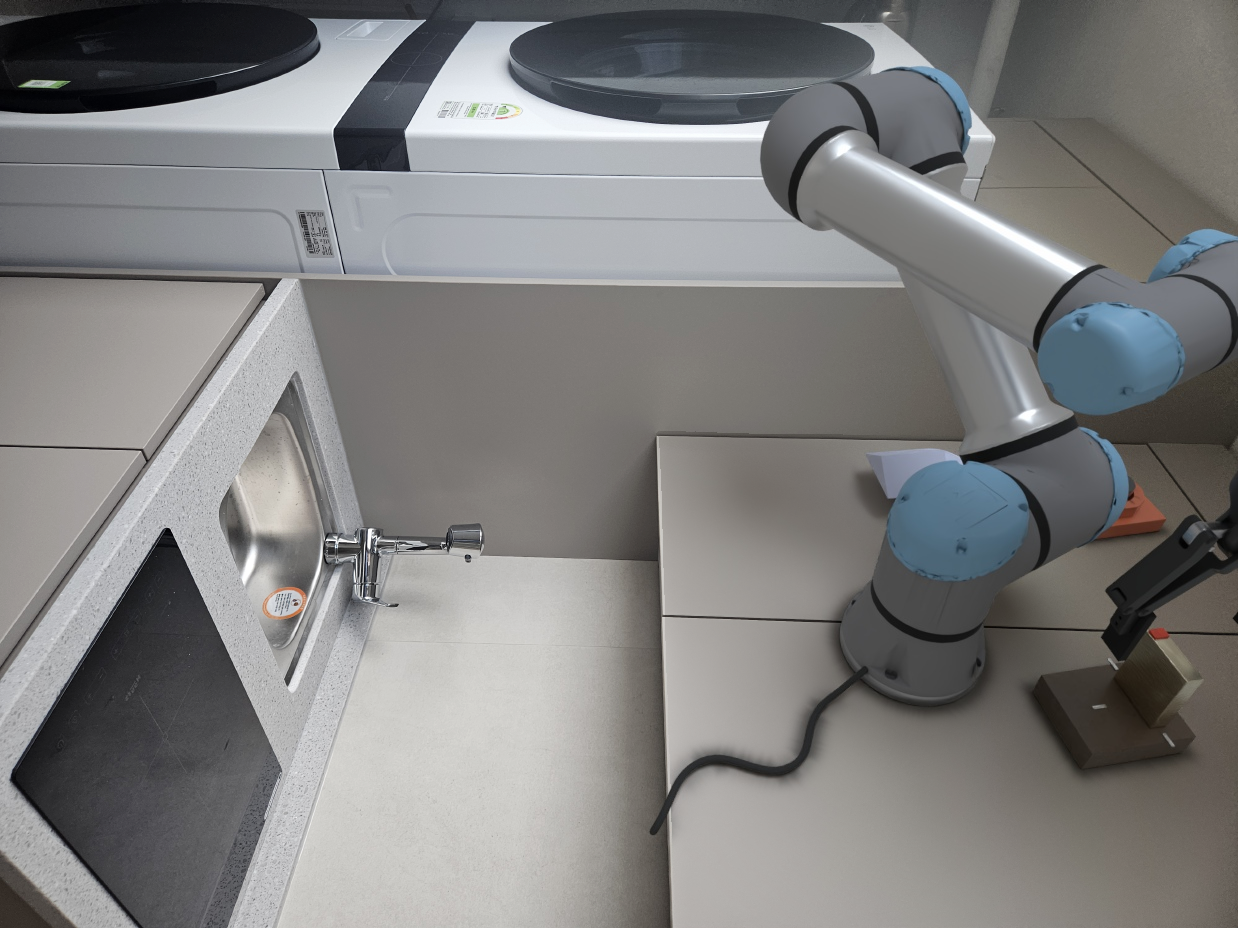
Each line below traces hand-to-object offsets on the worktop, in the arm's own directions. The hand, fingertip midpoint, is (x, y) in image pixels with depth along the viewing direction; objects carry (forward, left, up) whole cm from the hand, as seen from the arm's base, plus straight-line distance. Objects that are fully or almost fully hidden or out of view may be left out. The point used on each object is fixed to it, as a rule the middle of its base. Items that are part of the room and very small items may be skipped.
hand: (1179, 639), depth 75 cm
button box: (+16, +28, -13) cm, 34 cm away
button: (+16, +28, -9) cm, 33 cm away
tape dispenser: (-6, +36, -13) cm, 39 cm away
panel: (-1, 0, -13) cm, 13 cm away
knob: (0, 0, -10) cm, 10 cm away
